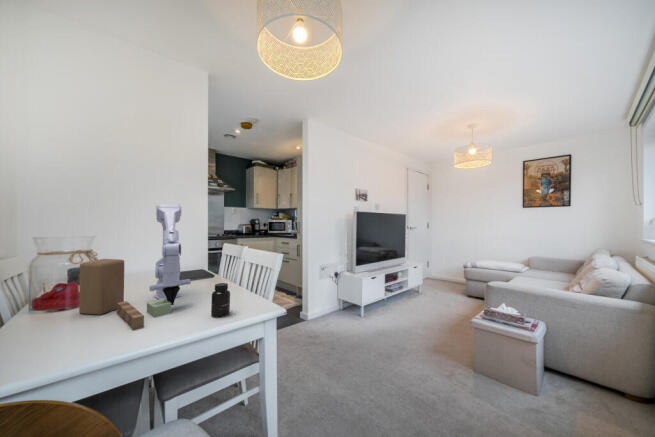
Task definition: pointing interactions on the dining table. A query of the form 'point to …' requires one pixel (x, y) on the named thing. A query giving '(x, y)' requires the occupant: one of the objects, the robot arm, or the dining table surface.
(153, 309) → the sage block
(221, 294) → the supplement bottle
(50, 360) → the dining table surface
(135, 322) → the notched wooden bar
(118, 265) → the block
